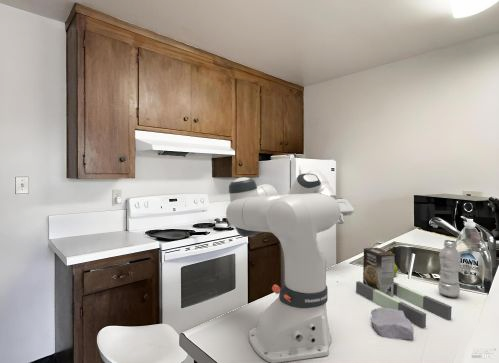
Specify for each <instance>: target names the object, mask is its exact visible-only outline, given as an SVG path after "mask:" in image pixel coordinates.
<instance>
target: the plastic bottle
mask: <svg viewBox="0 0 499 363" xmlns="http://www.w3.org/2000/svg"><path fill="white" fill-rule="evenodd" d="M457 245H458V244H457V241H456V240H450V239H445V240H444V242H443V248H441V250H440V251H439V254H438V256H439V262H440V263H439V264H440V275H439V281H438V286H437V287H438V291H439V293H440V294H441V295H443V296H444V297H450V298H457V297H459V296H460V292H461V287H460V281H459V280H460V279H459V271H460V270H459V269H460V265H461V264H460V263H461V260H462V257H461V256H462V255H461V254H460V252H459V250H458V249H457V248H458V246H457Z"/></svg>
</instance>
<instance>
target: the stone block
mask: <svg viewBox="0 0 499 363" xmlns="http://www.w3.org/2000/svg"><path fill="white" fill-rule="evenodd" d="M370 314H371V323H372V326H373V328H374V331H375V332H376V333H377V334H378V335H379V336H381V337H382V338H387V339H392V340H395V339H396V340H398V339H399V340H404V341H405V340H408V341H413V340H414V333H415V332H414V325H413V323H412V322H410V321H409V320H408V319H407V318H406V317H405V315H404V312H403V311H402V310H401V311H398V310H394V309H390V308H384V307H379V308H374V309H372V310H371V312H370Z"/></svg>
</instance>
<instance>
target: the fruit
mask: <svg viewBox="0 0 499 363" xmlns="http://www.w3.org/2000/svg"><path fill="white" fill-rule="evenodd" d="M388 250H389V252H390V253H393V252H392V250H391V248H390V247H388ZM398 269H399V268H398V266H397V265H396V262H394V276H395V275H396V274H397V273H398Z"/></svg>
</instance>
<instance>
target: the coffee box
mask: <svg viewBox="0 0 499 363" xmlns="http://www.w3.org/2000/svg"><path fill="white" fill-rule="evenodd" d="M395 256H396V254H395V253H393V252H392V253H390V251H388V250H384V249H382V248H379V247H365V248H363V261H362V262H363V266H362V268H363V271H362V279H363V280H362V283H364V284H366V285H368V286H370V287H372V288H374V289H376V290H378V291H380V292H383V293H385V294H387V295H389V296H391V297H393V298H394V294H393V286H394V282H395V280H394V278H395V275H394V263H395V262H396V261H395V260H396V259H395Z"/></svg>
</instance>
